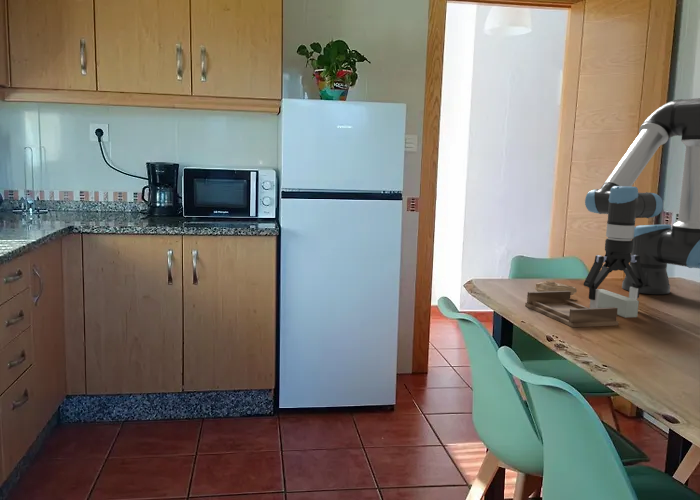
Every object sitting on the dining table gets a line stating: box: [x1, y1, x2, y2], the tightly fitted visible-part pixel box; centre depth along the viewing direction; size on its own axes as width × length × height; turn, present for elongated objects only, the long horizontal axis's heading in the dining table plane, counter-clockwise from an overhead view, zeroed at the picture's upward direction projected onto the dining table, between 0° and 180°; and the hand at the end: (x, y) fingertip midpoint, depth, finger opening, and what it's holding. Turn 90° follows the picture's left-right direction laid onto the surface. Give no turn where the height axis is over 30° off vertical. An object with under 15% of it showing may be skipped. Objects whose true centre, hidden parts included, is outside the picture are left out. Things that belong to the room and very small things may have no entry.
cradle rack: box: [524, 291, 619, 328], centre depth 176 cm, size 24×14×4 cm, turn 15°
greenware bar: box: [597, 288, 640, 318], centre depth 183 cm, size 4×16×5 cm, turn 15°
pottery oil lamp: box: [534, 280, 578, 296], centre depth 199 cm, size 9×12×7 cm
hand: (612, 309), depth 184 cm, fingers open, 13 cm apart
